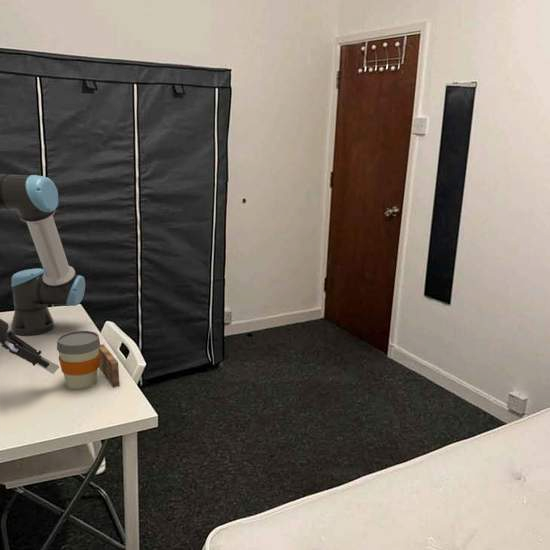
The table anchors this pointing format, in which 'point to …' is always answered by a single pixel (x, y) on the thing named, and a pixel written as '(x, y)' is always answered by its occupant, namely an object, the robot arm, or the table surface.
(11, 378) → the table surface
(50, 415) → the table surface
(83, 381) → the reusable coffee cup
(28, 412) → the table surface
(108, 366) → the board
